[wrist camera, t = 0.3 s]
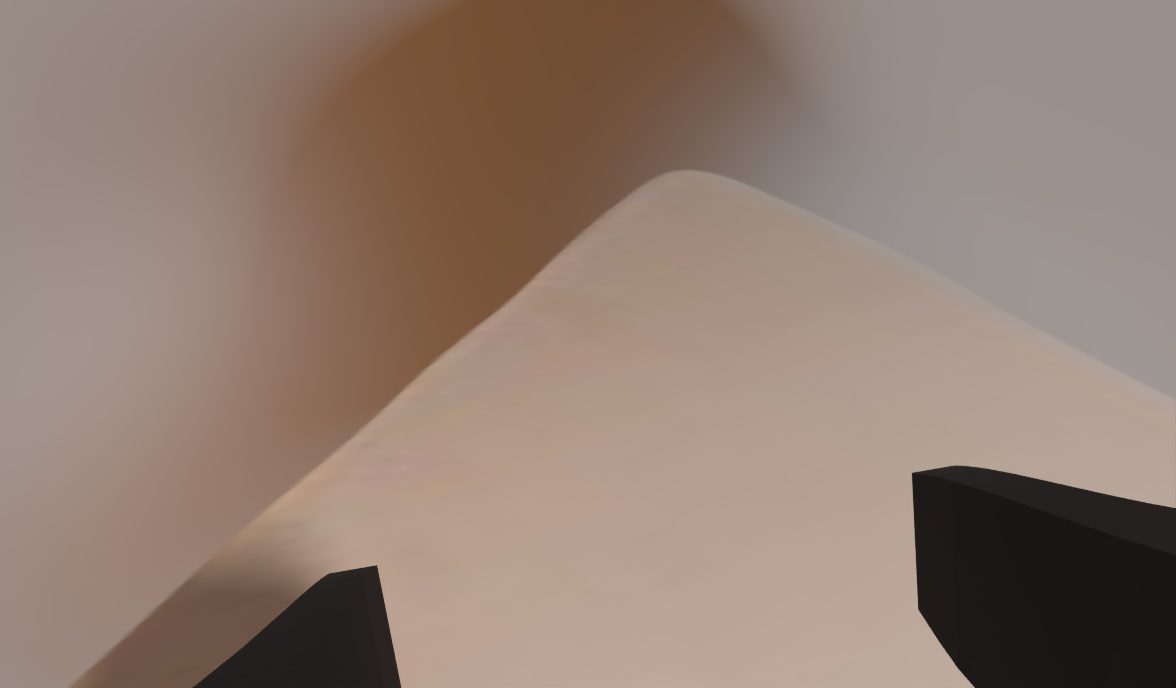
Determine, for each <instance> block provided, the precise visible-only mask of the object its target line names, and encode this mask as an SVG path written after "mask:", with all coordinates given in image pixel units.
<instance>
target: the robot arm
mask: <svg viewBox="0 0 1176 688" xmlns="http://www.w3.org/2000/svg"><path fill="white" fill-rule="evenodd" d="M912 484H913V505H914V526H915V548H916V569H917V590H918V610H919V611H920V613H921V614H922V616H923V617H924V619H925V620H926V622H927V623H928V625H929V627H930V628H931V630H932V631H933V633H934V634H935V636H936V637H937V639H938V640H939V642H940V643H941V645H942V646H943V648H944V649H945V650H946V652H947V653H948V655H949V656H950V658H951V659H952V660H953V662H954V663H955V665H956V666H957V667H958V669H959V670H960V671H961V672H962V673H963V675H964V676H965V677H966V678H967V679H968V680H969V681H970V683H971V684H972V685H973V686H974V687H975V688H1176V508H1171V507H1166V506H1160V505H1155V504H1150V503H1145V502H1140V501H1135V500H1130V499H1125V498H1120V497H1116V496H1111V495H1107V494H1102V493H1097V492H1093V491H1088V490H1084V489H1079V488H1075V487H1071V486H1066V485H1062V484H1057V483H1053V482H1048V481H1044V480H1039V479H1035V478H1030V477H1026V476H1021V475H1017V474H1012V473H1007V472H1001V471H996V470H991V469H985V468H978V467H970V466H949V467H944V468H938V469H932V470H926V471H920V472H915V473H912ZM193 688H401V684H400V679H399V674H398V669H397V664H396V659H395V654H394V649H393V644H392V639H391V634H390V628H389V623H388V618H387V613H386V608H385V603H384V598H383V593H382V588H381V583H380V578H379V573H378V568H377V565H376V566H371V567H365V568H359V569H353V570H347V571H342V572H336V573H330V574H328V575H326V576H325V577H323V578H322V579H320V580H319V581H318V582H317V583H315V584H314V585H313V586H312V587H310V588H309V589H308V590H307V591H306V592H305V593H304V594H302V595H301V596H300V597H299V598H298V599H297V600H296V601H295V602H293V603H292V604H291V605H290V606H289V607H288V608H287V609H286V610H285V611H283V612H282V613H281V614H280V615H279V616H278V617H277V618H276V619H274V620H273V621H272V622H271V623H270V624H269V625H268V626H267V627H265V628H264V629H263V630H262V631H261V632H260V633H259V634H257V635H256V636H255V637H254V638H253V639H252V640H251V641H250V642H248V643H247V644H246V645H245V646H244V647H243V648H242V649H240V650H239V651H238V652H237V653H235V654H234V655H233V656H232V657H230V658H229V659H228V660H227V661H225V662H224V663H223V664H222V665H220V666H219V667H218V668H217V669H216V670H214V671H213V672H212V673H211V674H209V675H208V676H207V677H206V678H204V679H203V680H202V681H201V682H199V683H198V684H197V685H196V686H194V687H193Z"/></svg>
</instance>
